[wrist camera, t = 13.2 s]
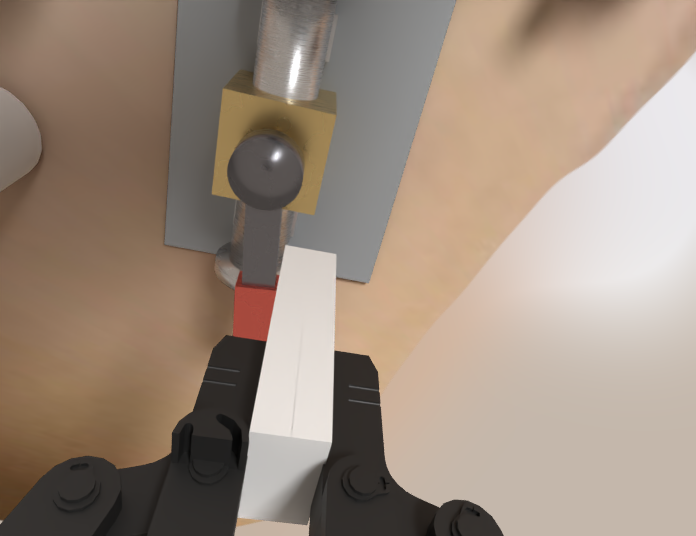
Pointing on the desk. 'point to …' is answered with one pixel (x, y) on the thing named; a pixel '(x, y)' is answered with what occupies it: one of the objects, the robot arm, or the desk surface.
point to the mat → (349, 130)
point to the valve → (279, 111)
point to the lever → (262, 221)
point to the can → (16, 140)
